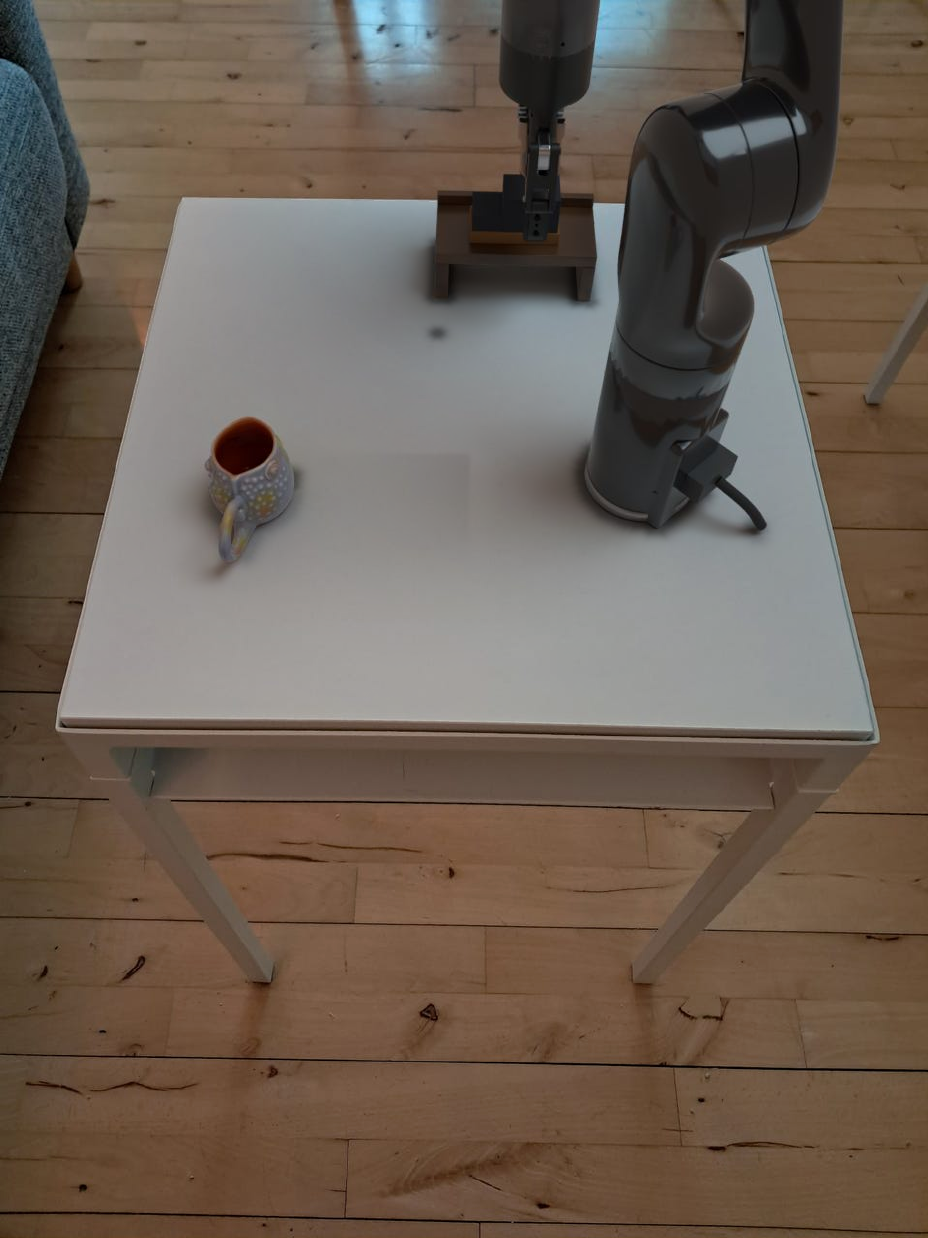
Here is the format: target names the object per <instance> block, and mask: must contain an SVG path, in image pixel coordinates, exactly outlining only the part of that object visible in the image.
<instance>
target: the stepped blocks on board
mask: <svg viewBox="0 0 928 1238" xmlns="http://www.w3.org/2000/svg"><path fill="white" fill-rule="evenodd" d="M560 177H561V176H560V174H559V175H558V176H557V184H556V194H555V203H556V208H555V209H554V213H550V215H549V225H548V235H547V239H546V241H544V242H526V241H524V239H523V222H524V208H523V206H524V202H523V196H524V192H525V178H524V177H523V176H521V174H520V173H513V174H512V173H504V174H502V191H497V192H472V205H470V237H469V242H470V243H493V244H542V245H558V243H559V235H560V233H559V215H560V207H561V193H562V192H561V191H562V190H561V179H560ZM533 191H539V192H547V188H535V189H533Z"/></svg>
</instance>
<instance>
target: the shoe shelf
mask: <svg viewBox="0 0 928 1238" xmlns="http://www.w3.org/2000/svg"><path fill="white" fill-rule="evenodd" d="M472 192H498V190H497V191H491V190H490V191H489V190H444V189H438V190H436V222H435V226H436V227H435V245H434V246H435V247H434V276H435V277H434V278H435V279H434V281H435V282H434V283H435V285H434V287H435V298H437V299H448V298H449V277H450V275H449V272H450V265H477V266H478V265H481V266H482V265H483V266H484V265H485V266H529V267H533V266H534V267H571V268H573V267H574V268H575V276H576V291H577V301H581V302H590V301H591V299H592V291H593V285H594V279H595V278H594V277H595V273H596V266H597V261H598V252H597V251H598V250H597V239H596V238H597V237H596V227H595V215H594V204H595V194H594V193H584V192H583V193H582V192H581V193H580V192H561V207H560V215H559V233H560V235H559V243H558V245H542V244H493V243H470V242H469V237H470V205H472Z"/></svg>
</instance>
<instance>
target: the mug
mask: <svg viewBox="0 0 928 1238" xmlns="http://www.w3.org/2000/svg"><path fill="white" fill-rule="evenodd" d="M204 469H205V471H206V472H208V473H207V477H208V479H207V480H208V486H207V489H208V490H209V494H210V497H211V499H212V501H213V504H214V505H215V507H216V509H218V511H219V512H220V513H221V514H222V515H223V516H222V519H221V523H220V527H219V533H218V543H217V550H218V556H219V557H220V559H221V560H223V561H224V562H228V563H231V562H234V561H236V560H237V559H238V558H239V557H240V555H242V553H243V551H244V550H245V548H246V546H247V544H248V542H249V540H250V538H251V536H252V534H253V533H254V531H255V529H256V527H257V526H259V525H262V524H263V525H264V524H265V523H268V522H271V521H272V520H274V519H276V518H277V517H278V516H279V515H280V514H282V512H284V511H285V509H286V508H287V506H288V505H289V503H290V502H291V499H292V496H293V493H294V490H295V489H294V488H295V474H294V469H293V465H292V462H291V459H290V457H289V455H288V453H287V451H286V449H285V448H284V445H283V442H282V440H281V438H280V437H279V436H278V435H277V434H276V433H275V431H274V430H273V428H272V427H271V426H270V425H269V424H268V423H266V422H265V421H263V420H262V419H260V418H258V417H255V416H242V417H240V418H237V419H235V420H233V421H232V422H230V423H229V424H227V426H225V427H224V428H223V429H222V430H221V431H220V432H219V433H218V434H217V435H216V437H215V438H214V439H213V441H212V442H211V446H210V455H209V457H208V459H207V460H206V461H205V462H204ZM232 530H233V531H234V533H233V539H232Z"/></svg>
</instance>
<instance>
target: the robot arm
mask: <svg viewBox="0 0 928 1238" xmlns="http://www.w3.org/2000/svg"><path fill="white" fill-rule="evenodd" d="M845 3H846V0H743V16H744V19H743V20H744V22H743V25H744V26H743V27H744V28H743V31H744V34H743V36H744V37H743V56H742V65H741V74H740V78H739V79H740V80H739V83H735V84H732V85H731V84H730V85H727V86H724V87H720V88H716V89H712V90H708V91H702V92H699V93H696V94H692V95H688V96H684V97H679V98H676V99H673V100H670V101H666V102H664V103H662V104H660V105H658V106H656V107H655V108H654V109H653V110H652V111H651V112H650V113H649V114H648V115H647V116H646V117H645V120H644V121H643V123H642V124H641V127H640V128H639V130H638V133H637V136H636V138H635V141H634V144H633V147H632V152H631V157H630V161H629V168H628V174H627V181H626V188H625V189H626V191H625V199H624V207H623V216H622V224H621V232H620V240H619V247H618V254H617V263H616V264H617V265H616V266H617V268H616V269H617V270H616V271H617V272H616V274H617V293H618V294H617V295H618V301H617V308H616V313H615V318H614V324H613V329H612V334H611V340H610V344H609V349H608V353H607V360H606V364H605V370H604V375H603V380H602V384H601V389H600V395H599V400H598V403H597V404H598V405H597V411H596V416H595V420H594V426H593V429H592V436H591V442H590V446H589V451H588V453H587V457H586V461H585V466H584V481H585V485H586V488H587V490H588V492H589V494H590V495H591V497H592V498H593V499H594V501H596V502H597V504H598V505H600V506H601V507H602V508H603V509H605V510H606V511H608V512H609V513H611V514H612V515H615V516H618V517H619V518H622V519H626V520H630V521H635V522H636V521H637V522H646V523H648V524H650V525H651V526H652V527H654V528H656V529H658V528H660V527H661V526H662V525H664V524H665V523H666V522H667V521H669V520H670V519H671V518H672V517H673V516H674V515H676V514H677V513H678V512H680V511H681V510H682V509H683V508H684V507H685V506H686V505H687V504H688V503H689V502H691V501H692V502H693V503H695V504H697V505H699V503H700V502H702V501H703V500H704V499H705V498H706V497H707V496H709V494H711V493H712V492H713V491H714V490H715V489H716V488H717V489H718V490H720V491H721V492H722V493H724V494H725V495H726V496H727V497H728V498H729V499H730V500H732V501H733V502H734V503H735V504H737V505H738V506H739V507H740V508H741V509H742V510H743V511H744V512H745V513H746V515H747V516H748V517H749V519H750V520H751V522H752V524H753V525H754V527H755V529H756V530H757V531H759V532H760V531H761V532H762V531H763V530H765V529H766V528H767V527H768V523H767V522H766V519H765V518H764V516H763V515H762V513H761V512H760V510H759V508H758V507H757V506H756V505H755V504H754V503H753V502H752V501H751V499H749V498H748V497H747V496H746V495H745V494H743V493H742V492H741V491H740V490H739V489H737V487H735V486H734V485H733V484H732V483H731V482H729V481H728V480H727V479H728V478H729V477H731V475H732V473H733V471H734V468H735V466H736V463H737V461H738V458H739V456H738V455H737V454H735V452H733V451H731V450H730V449H729V448H727V447H726V446H724V445H723V444H721V443H720V442H721V439H722V436H723V434H724V431H725V428H726V425H727V423H728V420H729V417H730V413H729V411H727V410H726V409H725V408H723V404H724V401H725V398H726V394H727V393H728V389H729V387H730V384H731V381H732V378H733V375H734V372H735V370H736V367H737V364H738V362H739V358H740V355H741V353H742V350H743V348H744V345H745V343H746V341H747V337H748V335H749V332H750V329H751V326H752V322H753V319H754V315H755V298H754V294H753V290H752V289H751V286H750V285H749V283H748V282H747V280H746V278H744V276H743V275H742V274H741V273H740V272H739V271H738V270H737V269H736V268H734V267H733V266H732V265H731V264H729V263H727V262H726V261H724V260H722V259H725V258H728V257H731V256H736V255H738V254H739V255H740V254H742V253H746V252H749V251H752V250H753V251H754V250H756V249H759V248H762V247H765V246H769V245H772V244H775V243H777V242H781V241H784V240H788V239H790V238H792V237H794V236H796V235H798V234H801V233H802V232H804V231H805V230H806V229H807V228H808V227H809V226H810V225H811V224H812V223H813V222H814V221H815V220H816V218H817V217H818V216H819V214H820V213H821V211H822V208H823V206H824V204H825V202H826V200H827V197H828V194H829V191H830V187H831V183H832V180H833V175H834V171H835V165H836V160H837V159H836V158H837V151H838V150H837V149H838V142H839V141H838V140H839V128H840V127H839V126H840V111H841V110H840V109H841V93H842V92H841V91H842V89H841V88H842V66H843V48H844V46H843V44H844V21H845V6H846V5H845ZM600 6H601V0H501V15H500V19H501V20H500V39H499V40H500V41H499V42H500V43H499V64H498V83H499V87H500V89H501V91H502V92H503V94H505V96H506V97H507V98H508V99H510V100H511V101H513V102H514V103H515V104H517V120H518V123H517V124H518V125H517V138H518V139H519V142H520V146H519V147H520V148H519V153H520V154H519V174H521V176H523V177H524V178H525V192H524V196H523V202H524V206H523V208H524V222H523V239H524V241H526V242H544V241H546V239H547V235H548V225H549V215H550V213H554V209H555V208H556V203H555V194H556V184H557V176H558V175H559V176H560V174H561V161H562V143H563V140H564V139H565V137H566V125H567V124H566V123H567V121H566V119H567V117H566V116H565V108H567V107H569V106H572V105H574V104H576V103H578V102H579V101H581V100H582V99H583V98H584V96H585V95H586V94H587V93H588V91H589V89H590V86H591V85H590V84H591V80H592V79H591V78H592V71H593V63H594V54H595V47H596V39H597V38H596V37H597V31H598V23H599V14H600ZM535 188H547V192H539V191H533V189H535Z"/></svg>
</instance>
